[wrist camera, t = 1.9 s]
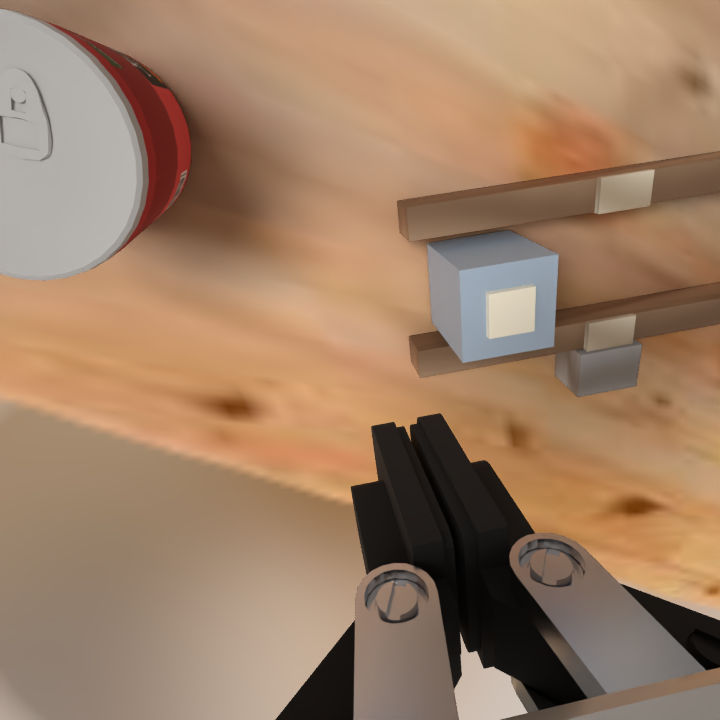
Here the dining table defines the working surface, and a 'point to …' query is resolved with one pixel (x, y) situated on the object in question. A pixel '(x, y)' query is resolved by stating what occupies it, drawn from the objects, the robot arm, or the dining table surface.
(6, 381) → the dining table surface
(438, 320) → the block
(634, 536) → the dining table surface
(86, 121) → the canned food
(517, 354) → the beam slot
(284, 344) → the dining table surface
